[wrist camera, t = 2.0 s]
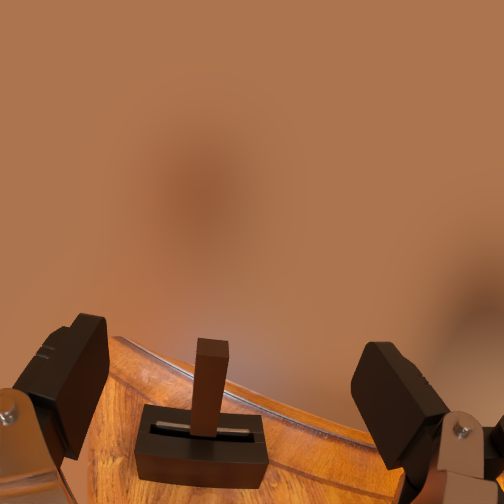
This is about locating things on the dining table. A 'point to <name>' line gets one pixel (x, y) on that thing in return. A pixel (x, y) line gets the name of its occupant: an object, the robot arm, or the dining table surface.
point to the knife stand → (200, 452)
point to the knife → (207, 397)
